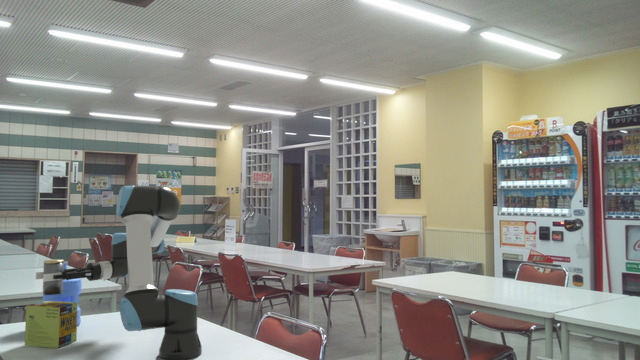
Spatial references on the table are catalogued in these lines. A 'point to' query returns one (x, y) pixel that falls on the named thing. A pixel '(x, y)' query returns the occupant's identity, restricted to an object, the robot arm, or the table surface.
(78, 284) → the water jug
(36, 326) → the protein box
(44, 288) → the gold and gray tin
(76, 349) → the table surface
